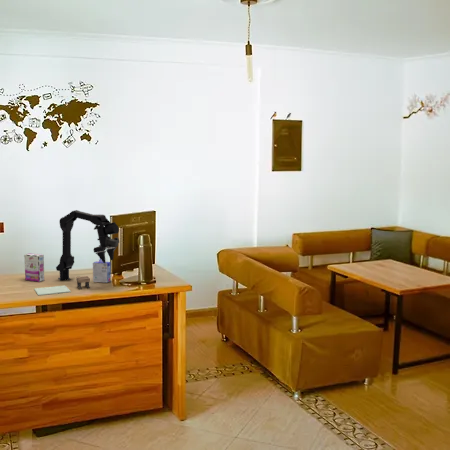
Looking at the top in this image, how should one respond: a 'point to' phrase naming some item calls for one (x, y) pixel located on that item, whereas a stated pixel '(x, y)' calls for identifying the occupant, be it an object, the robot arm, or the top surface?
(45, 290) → the felt mat
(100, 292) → the top surface
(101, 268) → the ink cartridge box
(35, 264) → the candy bar box
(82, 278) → the walnut stool
